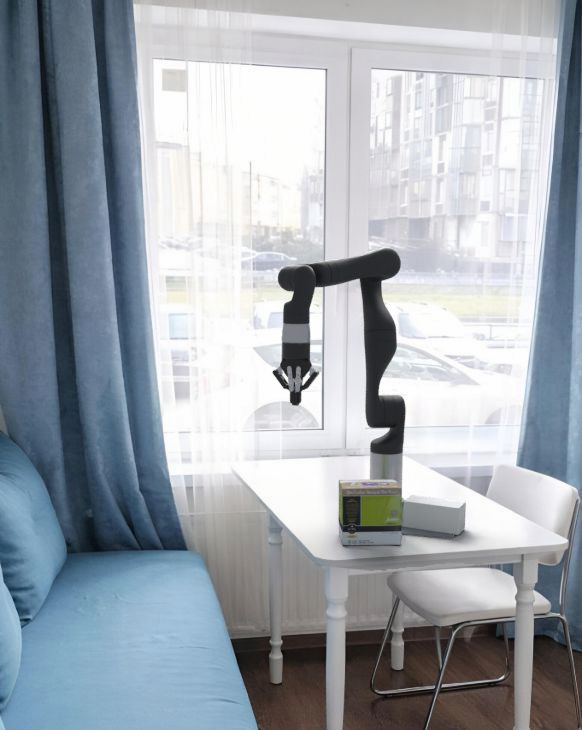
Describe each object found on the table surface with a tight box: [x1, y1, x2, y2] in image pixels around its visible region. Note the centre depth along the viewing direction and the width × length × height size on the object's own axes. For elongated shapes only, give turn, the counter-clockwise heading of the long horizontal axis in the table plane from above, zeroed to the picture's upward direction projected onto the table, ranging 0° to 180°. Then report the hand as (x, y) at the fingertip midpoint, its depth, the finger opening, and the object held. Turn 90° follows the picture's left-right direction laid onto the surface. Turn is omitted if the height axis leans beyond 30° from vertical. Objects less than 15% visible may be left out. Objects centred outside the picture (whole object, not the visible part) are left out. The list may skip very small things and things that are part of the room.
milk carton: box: [402, 494, 467, 536], centre depth 220 cm, size 7×7×19 cm
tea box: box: [338, 479, 403, 546], centre depth 209 cm, size 15×10×15 cm
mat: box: [402, 526, 455, 540], centre depth 219 cm, size 11×19×1 cm, turn 75°
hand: (295, 405), depth 221 cm, fingers closed
